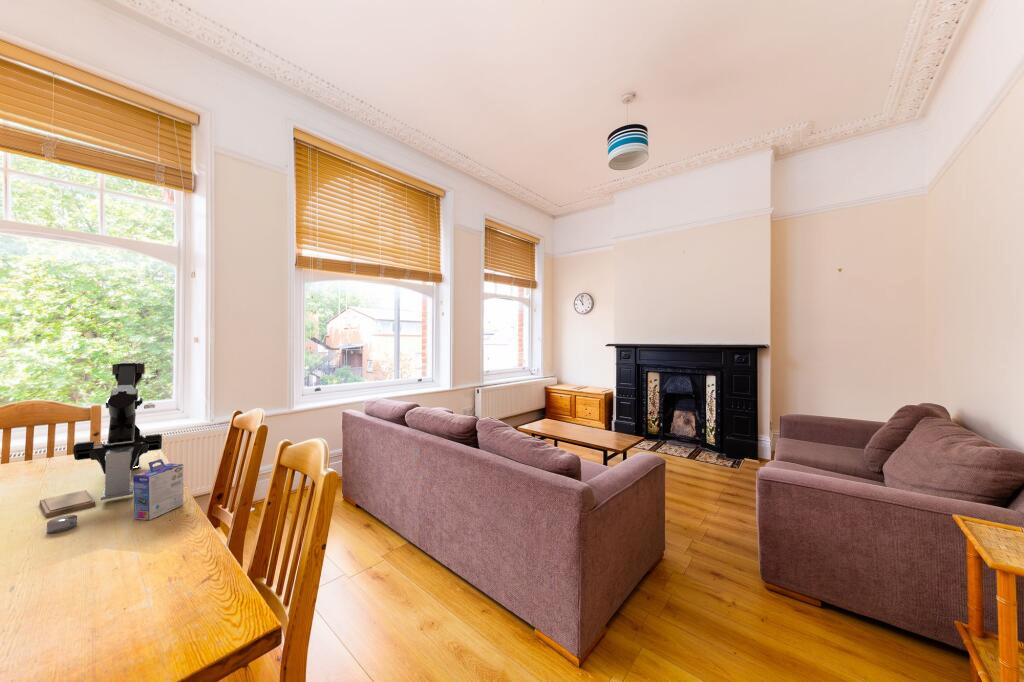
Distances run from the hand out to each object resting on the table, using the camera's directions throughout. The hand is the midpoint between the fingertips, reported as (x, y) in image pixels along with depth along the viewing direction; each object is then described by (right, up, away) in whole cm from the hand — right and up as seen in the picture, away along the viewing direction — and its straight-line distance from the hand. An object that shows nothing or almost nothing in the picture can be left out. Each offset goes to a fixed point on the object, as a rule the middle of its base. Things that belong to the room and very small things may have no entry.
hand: (118, 471), depth 112 cm
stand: (-12, -9, -3) cm, 15 cm away
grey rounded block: (+2, -10, -15) cm, 18 cm away
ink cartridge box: (+17, -10, -5) cm, 20 cm away
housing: (-1, -7, +1) cm, 7 cm away
